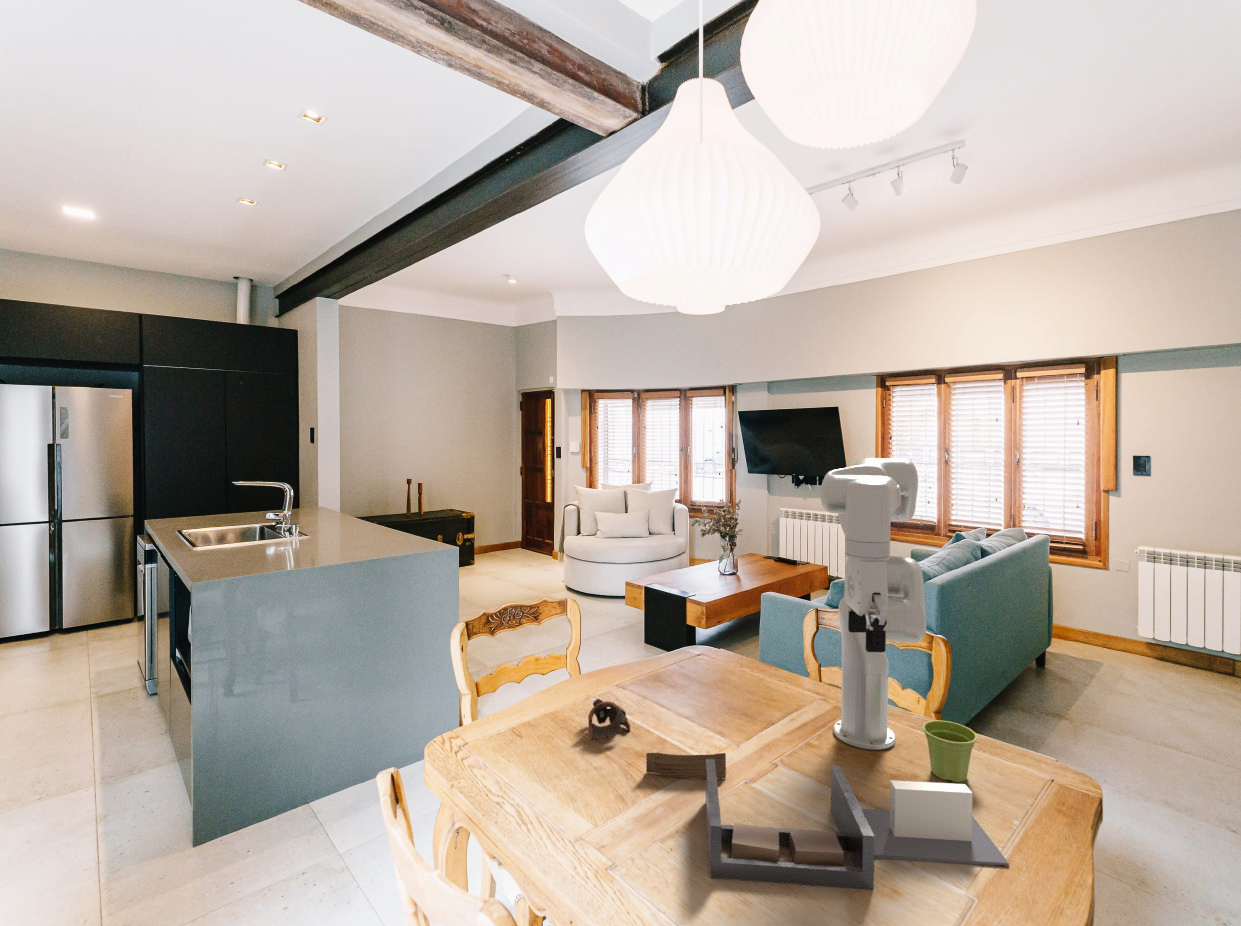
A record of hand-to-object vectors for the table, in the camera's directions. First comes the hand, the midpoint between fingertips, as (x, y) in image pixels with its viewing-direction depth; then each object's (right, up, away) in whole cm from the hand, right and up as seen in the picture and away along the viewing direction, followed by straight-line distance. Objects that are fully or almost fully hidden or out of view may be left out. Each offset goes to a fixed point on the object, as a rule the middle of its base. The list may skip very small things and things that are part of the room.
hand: (865, 641), depth 110 cm
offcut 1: (-24, -30, -16) cm, 41 cm away
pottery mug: (-48, -28, +25) cm, 61 cm away
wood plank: (-32, -29, +8) cm, 44 cm away
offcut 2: (-15, -30, -17) cm, 37 cm away
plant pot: (+20, -29, +8) cm, 36 cm away
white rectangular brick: (+6, -29, -10) cm, 31 cm away
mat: (+6, -29, -10) cm, 32 cm away
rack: (-19, -29, -11) cm, 37 cm away
